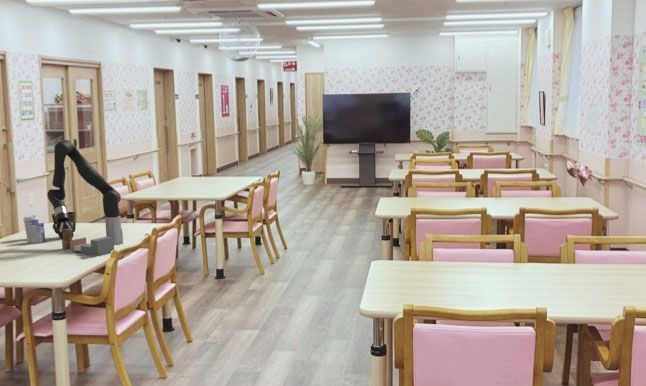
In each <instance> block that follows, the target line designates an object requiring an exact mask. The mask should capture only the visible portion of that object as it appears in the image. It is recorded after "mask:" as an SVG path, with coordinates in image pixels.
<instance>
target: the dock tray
mask: <svg viewBox="0 0 646 386" xmlns="http://www.w3.org/2000/svg"><path fill="white" fill-rule="evenodd" d="M82 245H83V246H90V247H91V243H87V238H86V237H81V238H77V239H72V240H71V241H70V249H69V250H70V251H72V252H73V251H77V252H81V246H82Z"/></svg>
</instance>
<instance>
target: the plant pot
mask: <svg viewBox="0 0 646 386" xmlns="http://www.w3.org/2000/svg"><path fill="white" fill-rule="evenodd" d="M67 212H68V216H69V220H70V222H71V223H74V222H76V215H77V213H76V212H75V211H67ZM51 218H52V222H53V224H57V221H56V217H55V213H52V214H51ZM70 226H71V228H72V229H73V226H72V225H70ZM57 229H58V231H60V228H59V227H58V226H57ZM57 235H58V237H59V238H60V234H57ZM60 239H61V240H62V238H60Z"/></svg>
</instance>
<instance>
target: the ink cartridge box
mask: <svg viewBox="0 0 646 386" xmlns="http://www.w3.org/2000/svg"><path fill="white" fill-rule="evenodd" d="M34 221H37V222H34ZM26 231H27V235H26V242H27V243H26V244H40V243H42V244H43V243H45V242H46V236H45V223H44V222H39V219H38V220H33V222H32V223H30V224H27V225H26V229H25V232H26Z"/></svg>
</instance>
